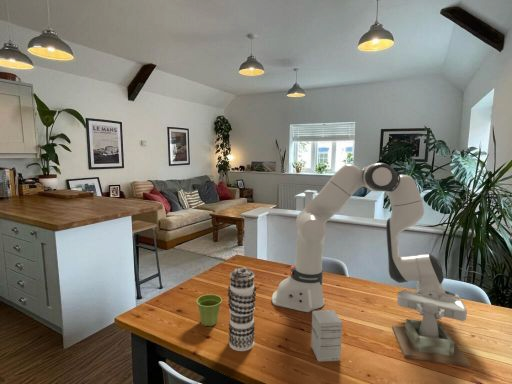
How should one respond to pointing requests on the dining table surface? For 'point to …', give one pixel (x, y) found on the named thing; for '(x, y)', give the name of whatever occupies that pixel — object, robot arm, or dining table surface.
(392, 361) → the dining table surface
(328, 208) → the robot arm
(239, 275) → the decorative candle
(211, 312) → the plant pot
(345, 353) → the dining table surface
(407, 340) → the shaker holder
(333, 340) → the supplement box
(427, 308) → the salt shaker
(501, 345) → the dining table surface
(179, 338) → the dining table surface
